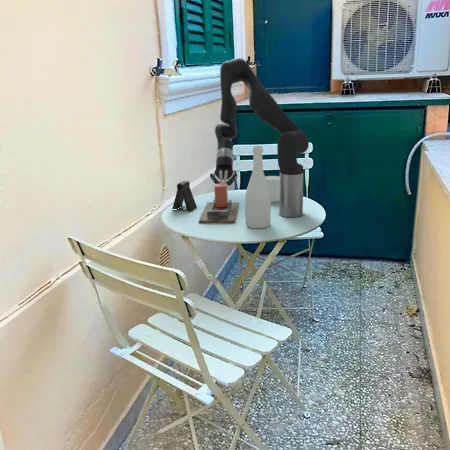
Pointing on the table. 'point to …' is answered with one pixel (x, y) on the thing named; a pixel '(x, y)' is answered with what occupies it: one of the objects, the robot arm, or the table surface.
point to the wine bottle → (257, 195)
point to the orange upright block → (221, 195)
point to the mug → (273, 187)
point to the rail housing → (219, 213)
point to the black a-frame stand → (184, 197)
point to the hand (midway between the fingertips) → (222, 192)
